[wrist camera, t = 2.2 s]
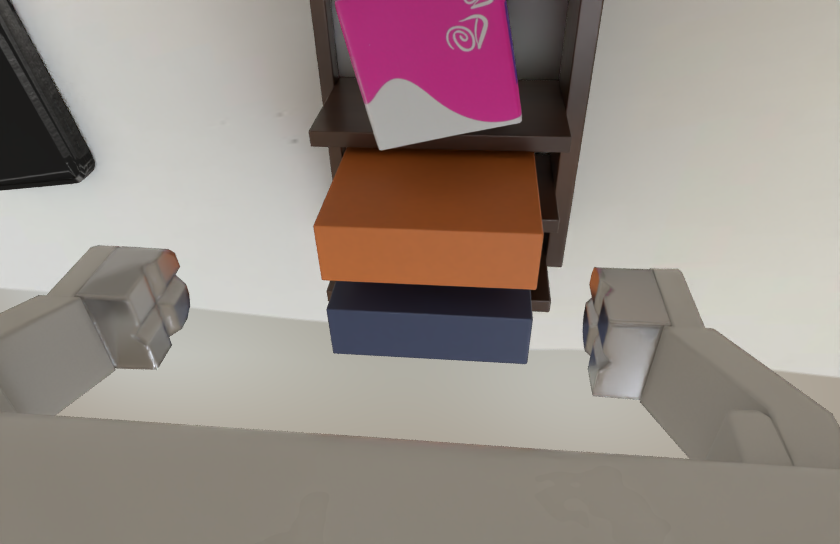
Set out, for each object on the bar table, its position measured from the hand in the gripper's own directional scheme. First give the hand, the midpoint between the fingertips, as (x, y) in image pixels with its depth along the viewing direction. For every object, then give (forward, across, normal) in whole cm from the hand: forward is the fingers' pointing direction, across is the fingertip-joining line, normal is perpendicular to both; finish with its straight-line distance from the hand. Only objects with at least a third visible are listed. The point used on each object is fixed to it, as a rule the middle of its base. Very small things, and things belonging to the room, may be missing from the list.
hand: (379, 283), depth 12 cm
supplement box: (+23, 0, 0) cm, 23 cm away
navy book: (+23, 0, +11) cm, 26 cm away
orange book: (+23, 0, +7) cm, 24 cm away
